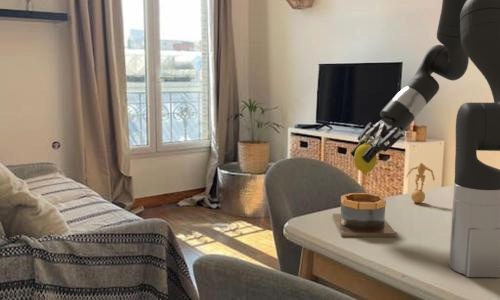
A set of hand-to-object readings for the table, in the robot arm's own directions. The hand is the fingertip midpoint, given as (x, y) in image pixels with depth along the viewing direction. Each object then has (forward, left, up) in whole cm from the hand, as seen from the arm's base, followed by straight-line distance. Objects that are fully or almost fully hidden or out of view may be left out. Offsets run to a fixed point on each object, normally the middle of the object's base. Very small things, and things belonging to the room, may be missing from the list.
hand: (358, 157), depth 123 cm
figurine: (+25, -23, -18) cm, 39 cm away
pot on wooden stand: (0, -1, -18) cm, 18 cm away
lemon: (+1, -2, -4) cm, 5 cm away
